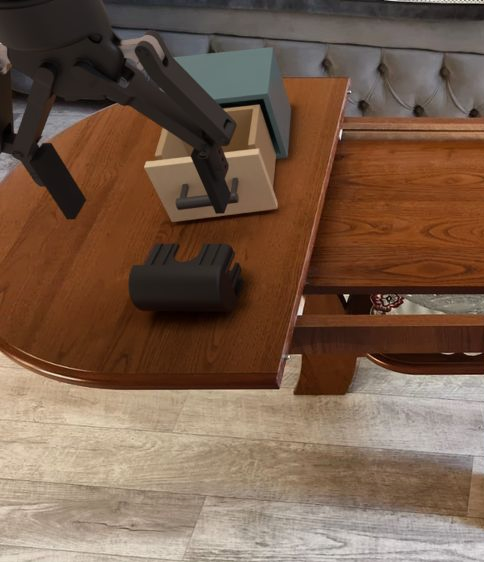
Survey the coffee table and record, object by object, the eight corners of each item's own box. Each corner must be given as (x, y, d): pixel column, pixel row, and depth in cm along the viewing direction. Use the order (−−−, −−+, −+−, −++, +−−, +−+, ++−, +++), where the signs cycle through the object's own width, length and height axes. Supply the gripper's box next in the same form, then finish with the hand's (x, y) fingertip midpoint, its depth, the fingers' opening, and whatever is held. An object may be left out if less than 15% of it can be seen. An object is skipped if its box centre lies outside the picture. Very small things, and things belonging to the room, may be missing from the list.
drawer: (275, 230, 86) (255, 175, 80) (166, 244, 85) (137, 189, 78) (281, 156, 97) (264, 102, 90) (184, 168, 95) (160, 114, 89)
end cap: (146, 326, 77) (120, 285, 72) (168, 280, 82) (145, 239, 77) (233, 326, 77) (213, 285, 72) (250, 280, 82) (232, 239, 77)
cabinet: (287, 158, 98) (267, 93, 90) (183, 170, 96) (153, 105, 89) (291, 109, 106) (273, 46, 99) (195, 120, 105) (169, 57, 97)
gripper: (219, -52, 50) (291, 176, 66) (-120, -40, 50) (33, 186, 66) (191, -7, 45) (277, 229, 61) (-187, 8, 45) (-4, 240, 60)
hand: (150, 207), depth 63 cm, fingers open, 13 cm apart
